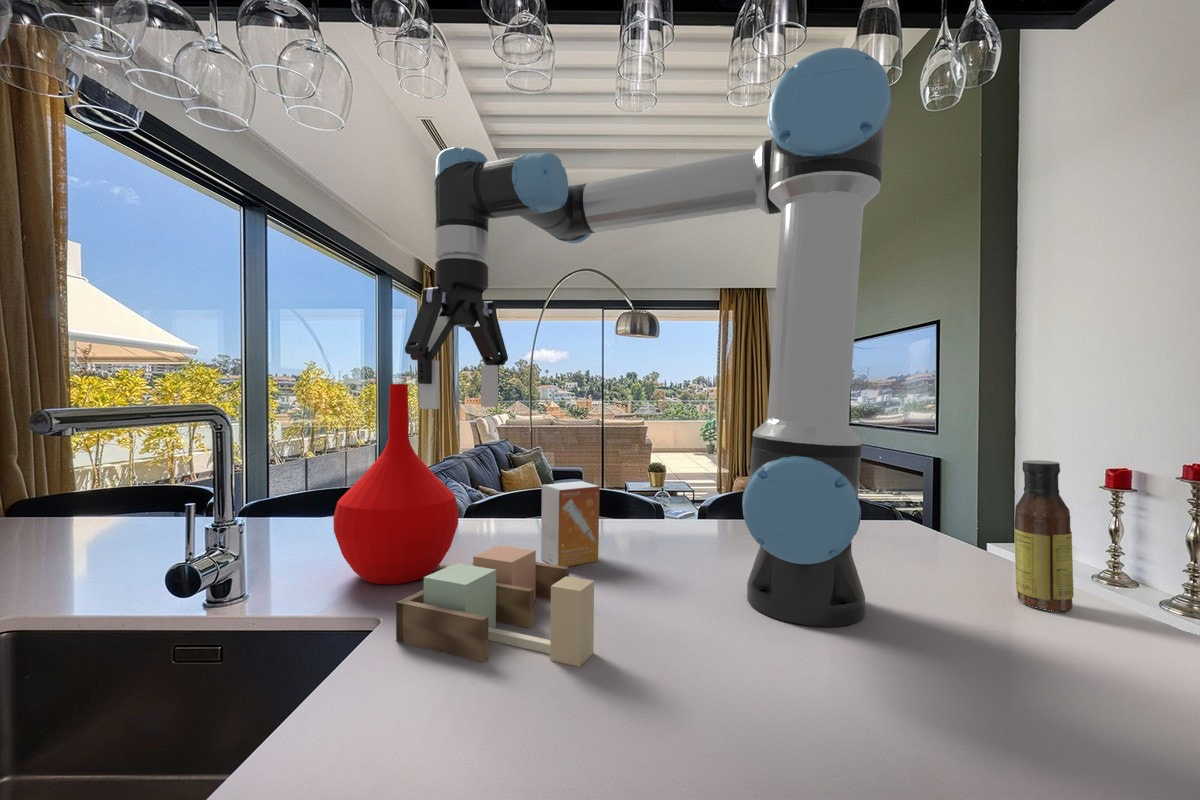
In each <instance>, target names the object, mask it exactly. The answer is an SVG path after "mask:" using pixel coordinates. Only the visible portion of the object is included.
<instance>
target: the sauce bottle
mask: <svg viewBox="0 0 1200 800" xmlns="http://www.w3.org/2000/svg"><path fill="white" fill-rule="evenodd" d="M1022 471H1023V475H1024V480H1023V481H1024V487H1023V494H1022V496H1021V498H1020V499H1019V501H1018V502H1017V504H1016V505H1015V510H1014V513H1015V514H1014V561H1015V565H1014V566H1015V589H1016V593H1017V599H1018V601H1020V603H1022V602H1023V603H1022V604H1024V603H1025V604H1024V605H1026V604H1028V605H1030V606H1033V607H1037V608H1041V609H1040V610H1042V609H1046V610H1050V611H1049V612H1051V610H1052V611H1059V612H1058V613H1065V612H1069V611H1071V610H1072V608H1073V598H1074V596H1075V595H1074V574H1073V573H1074V572H1073V571H1074V567H1073V566H1074V564H1073V563H1074V562H1073V561H1074V560H1073V532H1072V530H1071V529H1072V528H1071V513H1070V508H1068V506H1067V505H1066V503H1065V502H1064V499H1063V498H1062V496H1061V495H1060V489H1059V487H1060V486H1059V474H1060V473H1061V468H1060V462H1058V461H1053V460H1041V459H1038V460H1037V459H1031V460H1030V459H1029V460H1023V461H1022ZM1028 605H1027V606H1028ZM1046 610H1045V611H1046ZM1063 611H1065V612H1063Z"/></svg>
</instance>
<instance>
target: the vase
mask: <svg viewBox="0 0 1200 800" xmlns="http://www.w3.org/2000/svg"><path fill="white" fill-rule="evenodd" d="M388 399H389V402H388V404H389V405H388V439H387V442H386V444H385V445H386V446H384V447H385V448H384V449H383V451H382V453H381V454H380V455H379V456H378V458H377V459H376V460H375V461H374V462H373V463H372V465H371V466H370V467H368V469H367V470H366V472H365V473H364V474H363V475H362V476H361V477H360V478H359V479H358V480H357V481H356V482H355V483H354V484H353V485H352V486H351V487H350V488H349V489H348V490H347V491H346V492H345V493H344V494H343V495H342V496H341V497H340V498H339V499H338V501H337V502H336V505H335V510H334V514H333V518H332V519H333V534H334V535H335V539H336V541H337V544H338V546H339V549H340V552H341V555H342V557H343V559H344V560H345V561H346V563H347V564H348V566H350V569H352V571H353V572H354V573H355V574H356V575H358V576H359V577H360V578H361V579H363V580H364V581H366V582H367V583H371V584H375V585H400V584H401V585H402V584H405V583H412V582H415V581H418V580H421V579H424V577H425V576H428V575H430V574H432V572H433V571H434V570H436V569H437V567H438V566H439V565H440V564H441V562H442V561H443V559H444V558H445V556H446V554H447V553H448V551H449V550H450V548H451V547H452V543H453V541H454V538H455V534H456V531H457V528H458V525H459V508H458V502H457V497H456V495H455V493H454V492H453V491H452V490H451V489H450V488H449V487H448V486H447V485H445V483H444V482H443V481H442V480H440V479H439V477H438V476H437V475H436V474H434V473H433V471H432V470H431V469H430V468H429V467H428V466H427V465H426V464H425V462H424V461H423V460H422V459H421V458H420V456H418V455H417V454H416V452H415V450H414V448H413V446H412V445H411V440H410V437H409V422H410V421H409V387H408V383H407V384H406V383H390V384H389V398H388Z"/></svg>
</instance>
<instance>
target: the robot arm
mask: <svg viewBox="0 0 1200 800" xmlns="http://www.w3.org/2000/svg"><path fill="white" fill-rule="evenodd" d="M891 91H892V90H891V87H890V80H889V76H888V74H887V72H886V70H885V68H884V67H883V65H882V64H881V63H880V62H879V61H878V60H877V59H875V58H874V57H873V56H871V55H869V54H868V53H866V52H864V51H862V50H859V49H856V48H849V47H834V48H828V49H823V50H820V51H816V52H813V53H812V54H811V53H810V54H809V55H807V56H805V57H804V58H802V59H800V60H798V61H797V62H796V63H795V64H794V65H793V66H792V67H791V68H790V69H789V70H788V71H787V72H786V73H785V74H784V75H783V76H782V77H781V78H780V80H779V81H778V82H777V84H776V86H775V87H774V90H773V92H772V95H771V97H770V101H769V105H768V112H767V127H768V131H769V133H770V136H771V139H767V140H766V139H765V140H763V141H761V143H760V144H759V146H758V147H757V148H756V149H754V150H752V151H747V152H741V153H736V154H731V155H726V156H720V157H716V158H711V159H710V158H709V159H705V160H699V161H694V162H690V163H683V164H680V165H673V166H669V167H663V168H658V169H652V170H648V171H643V172H638V173H632V174H626V175H623V176H621V175H620V176H617V177H610V178H606V179H601V180H595V181H591V182H586V183H581V184H575V185H569V179H568V174H567V172H566V168H565V167H564V166H563V164H562V160H561V159H560V158H559V156H558V155H556V154H555V153H552V152H548V151H547V152H545V151H544V152H537V153H535V152H530V153H529V152H527V153H524V154H521V155H517V156H513V157H506V158H501V159H496V160H492V161H489V160H488V157H487V156H486V155H485V154H483V153H482V152H481V151H479V150H476V149H474V148H469V147H455V146H454V147H448V148H446V149H443V150H441V151H440V152H439V153H438V155H437V156H436V161H435V172H434V173H435V175H434V179H433V186H434V198H435V199H434V201H435V203H434V204H435V229H434V230H435V258H436V259H437V261H436V262H435V264H434V284H435V287H426V288H425V287H424V288H423V289H422V296H421V305H420V307H419V309H418V313H417V315H416V318H415V320H414V323H413V326H412V329H411V331H410V334H409V337H408V339H407V341H406V344H405V347H404V351H405V353H406V355H409V357H410V358H411V359H410V360H412V361H417V383H418V384H419V409H420V410H439V409H440V360H436V359H435V358H436V356H437V355H438V353H439V351H440V350H441V347H442V346H443V344H444V343H445V341H446V340H447V339H448V337H449V334H450V333H451V332H452V330H453V328H454V327H455V326H458V327H460V328H464V329H465V330H466V331H467V332H469V334H470V336H471V338H472V340H473V342H474V345H476V348H477V350H478V352H479V355H480V357H481V358H482V360H483V363H484V365H481V366H480V407H481V408H499V384H500V380H499V379H500V366H505V365H506V362H508V360H509V356H508V352H507V348H506V345H505V342H504V341H505V340H504V337H503V335H502V334H503V333H502V329H501V327H500V324H499V319H498V316H497V303H496V302H495V300H490V301H484V299H483V293H484V292H485V291H486V290H487V289H488V287H489V266H488V264H486V262H488V261H489V249H490V248H489V223H490V222H489V219H499V218H501V219H502V218H509V217H521V218H522V219H524V220H525V221H528V222H529V223H531V224H532V225H534V226H536V227H537V228H540V229H541V230H543V231H545V232H547V234H549V235H550V236H552V237H554V238H555V239H557V240H559V241H562V242H564V243H565V242H566V243H568V244H578V243H583V242H584V241H586V240H587V239H588V238H589V237H590V236H591V235H592V234H596V233H602V232H609V231H616V230H623V229H628V228H637V227H641V226H643V227H644V226H650V225H654V224H655V225H656V224H663V223H669V222H676V221H682V220H683V221H684V220H688V219H697V218H701V217H702V218H703V217H710V216H715V215H723V214H730V213H736V212H737V213H738V212H741V211H744V212H745V211H748V210H749V211H750V210H754V209H755V210H757V209H758V210H759V209H760V210H761V211H763V212H764V213H765V214H766V215H774V214H780V223H779V225H780V226H779V239H778V255H777V266H776V267H777V270H776V282H775V283H776V285H775V299H774V300H775V301H774V311H773V312H774V314H773V315H774V316H773V328H772V329H773V330H772V340H771V341H772V344H771V357H770V372H769V373H770V374H769V375H770V376H769V386H768V387H769V388H768V389H769V390H768V402H767V416H766V417H767V418H766V420H765V421H764V422H763V423H761V425H760V426H758V427H757V428H755V430H753V431H752V440H751V450H750V451H751V452H750V453H751V454H750V466H749V468H750V469H749V479H748V481H747V483H746V485H745V487H744V488H745V489H744V491H743V493H742V499H741V500H742V501H741V503H742V504H741V505H742V506H741V507H742V514H743V519H744V523H745V525H746V528H747V529H748V532H749V533H750V535H751V536H752V538H753V539H754V540H755V542H756V543H757V544H758V545H759V548H758V551H757V554H756V557H755V560H754V562H753V565H752V568H751V571H750V574H749V577H748V580H747V586H746V588H747V589H746V592H747V593H746V599H747V602H748V603H749V605H750V606H751V607H753V608H754V609H755V610H756V611H758V612H760V613H762V614H764V615H767V616H769V617H772V618H774V619H777V620H781V621H785V622H788V623H792V624H798V625H804V626H813V627H815V626H816V627H842V626H847V625H848V626H849V625H852V624H855V623H858V622H860V621H861V620H863V619H864V618H865V615H866V594H865V591H864V589H863V585H862V583H861V579H860V575H859V573H858V569H857V567H856V564H855V560H854V557H853V553H852V544H853V543H852V541H853V540H854V538H855V536H856V535H857V532H858V530H859V527H860V523H861V518H862V508H861V505H860V499H859V485H860V473H861V472H860V471H861V459H862V447H863V446H862V444H863V443H862V442H863V441H862V440H861V438H859V436H858V435H857V434H856V433H855V432H854V431H853V430H852V429H851V427H850V426H849V417H850V416H849V415H850V414H849V413H850V403H851V402H850V400H851V389H852V387H851V386H852V373H853V363H854V362H853V360H854V347H855V345H854V344H855V332H856V331H855V330H856V319H857V304H858V290H859V276H860V265H861V264H860V262H861V261H860V260H861V247H862V246H861V245H862V236H863V235H862V233H863V223H864V222H863V220H864V209H865V206H866V205H867V204H868V203H869V202H870V201H871V200H873V199H874V198H875V197H876V196H877V195H878V194H879V193H880V190H881V186H882V185H881V183H882V171H883V158H884V145H885V133H886V132H885V131H886V123H887V118H888V115H889V114H890V109H891V106H892V93H891Z"/></svg>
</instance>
